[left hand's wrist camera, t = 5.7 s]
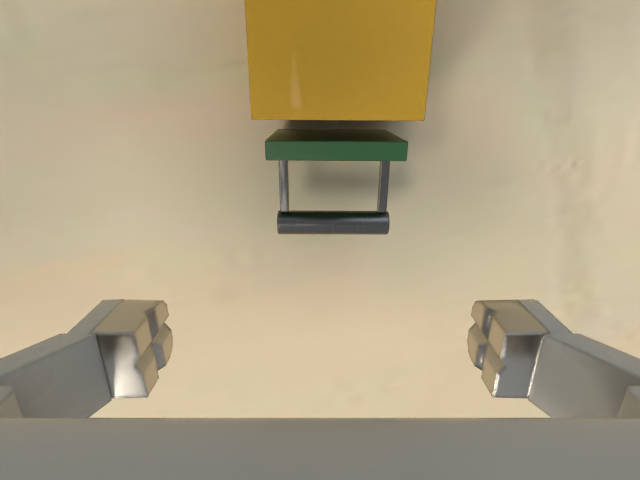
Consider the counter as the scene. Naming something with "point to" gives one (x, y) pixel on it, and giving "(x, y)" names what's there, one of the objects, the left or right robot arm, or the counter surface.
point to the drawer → (334, 149)
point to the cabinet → (339, 59)
